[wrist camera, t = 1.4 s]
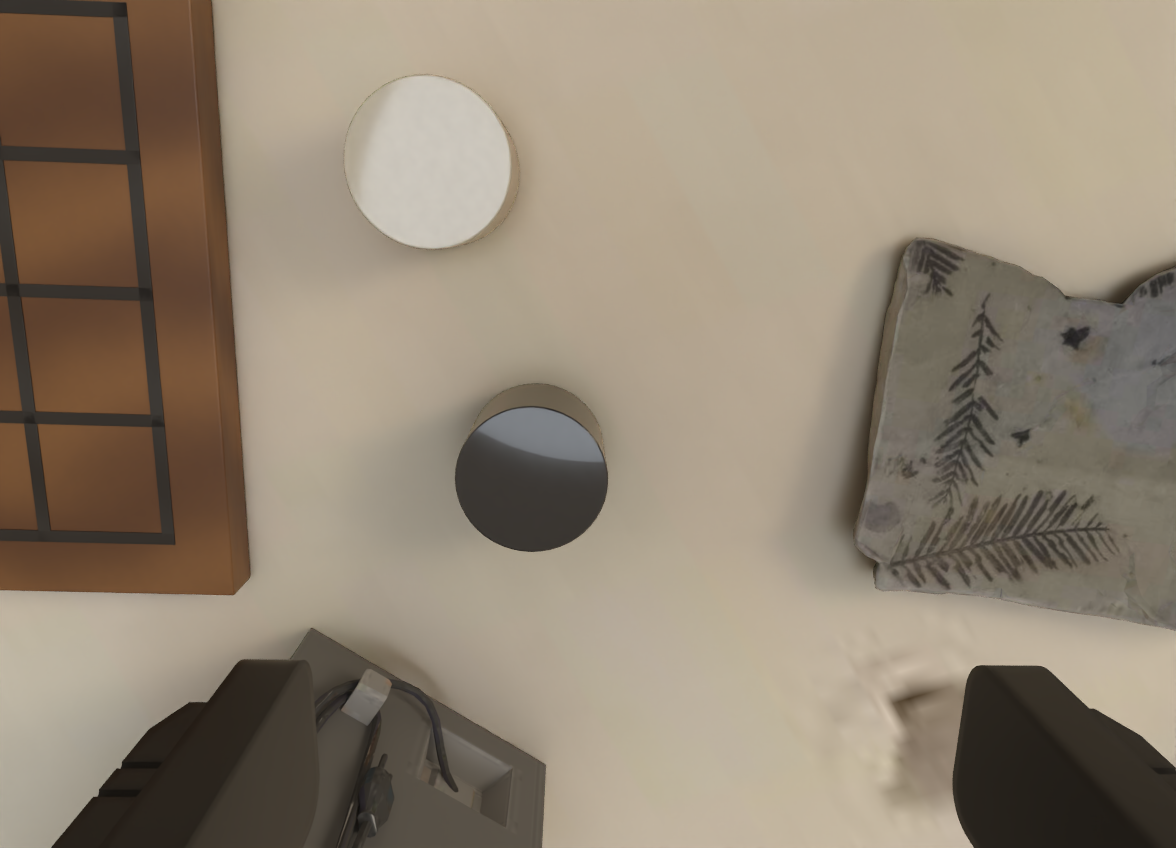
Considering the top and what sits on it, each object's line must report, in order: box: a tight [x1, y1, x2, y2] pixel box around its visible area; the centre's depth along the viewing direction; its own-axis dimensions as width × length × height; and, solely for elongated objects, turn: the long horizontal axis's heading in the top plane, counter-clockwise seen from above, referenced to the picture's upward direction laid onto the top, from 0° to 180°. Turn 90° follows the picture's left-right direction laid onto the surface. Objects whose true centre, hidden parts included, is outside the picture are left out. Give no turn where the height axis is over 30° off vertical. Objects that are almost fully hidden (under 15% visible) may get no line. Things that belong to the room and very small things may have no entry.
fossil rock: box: [853, 238, 1176, 630], centre depth 27 cm, size 18×15×2 cm
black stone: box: [455, 383, 608, 552], centre depth 26 cm, size 5×5×4 cm
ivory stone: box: [344, 74, 520, 250], centre depth 24 cm, size 5×5×4 cm
